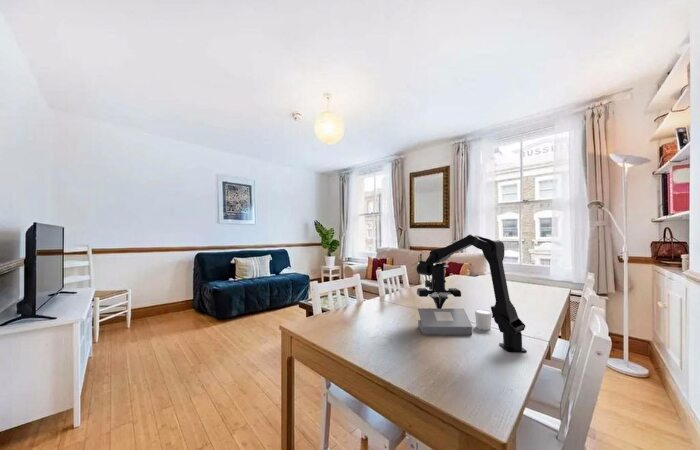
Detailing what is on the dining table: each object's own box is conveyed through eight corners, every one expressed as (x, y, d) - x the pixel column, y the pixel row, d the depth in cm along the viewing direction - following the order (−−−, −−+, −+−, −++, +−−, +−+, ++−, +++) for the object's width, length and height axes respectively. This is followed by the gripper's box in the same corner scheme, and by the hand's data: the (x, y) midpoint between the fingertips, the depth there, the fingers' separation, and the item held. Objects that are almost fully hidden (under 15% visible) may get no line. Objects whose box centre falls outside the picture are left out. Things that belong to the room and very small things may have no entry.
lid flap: (472, 327, 110) (472, 326, 110) (422, 327, 111) (422, 326, 110) (463, 309, 119) (463, 308, 119) (417, 309, 119) (417, 308, 119)
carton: (471, 334, 110) (471, 327, 110) (423, 334, 111) (423, 327, 111) (463, 327, 119) (463, 320, 119) (418, 327, 120) (418, 320, 120)
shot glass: (495, 330, 115) (494, 314, 116) (479, 330, 116) (478, 313, 116) (487, 324, 122) (487, 309, 123) (472, 324, 122) (472, 309, 123)
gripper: (452, 274, 130) (452, 306, 130) (414, 274, 131) (414, 306, 130) (461, 278, 119) (462, 313, 119) (419, 278, 120) (419, 313, 119)
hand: (438, 311), depth 122 cm, fingers closed
